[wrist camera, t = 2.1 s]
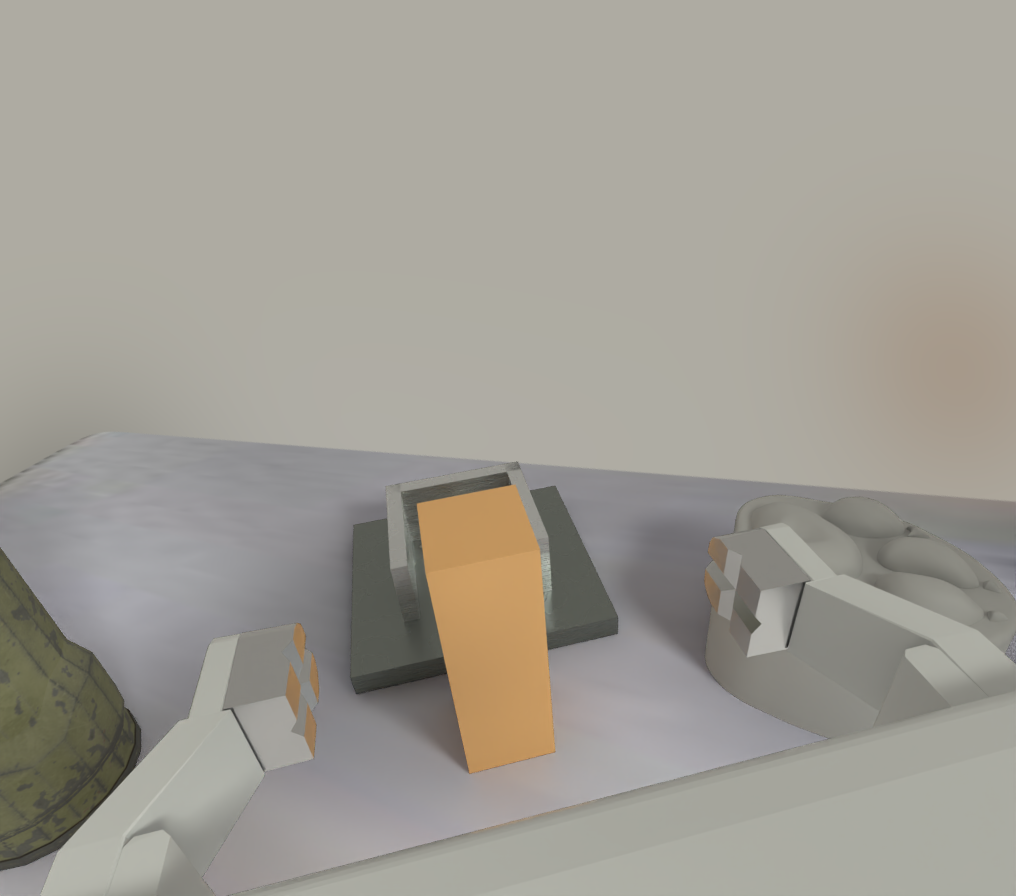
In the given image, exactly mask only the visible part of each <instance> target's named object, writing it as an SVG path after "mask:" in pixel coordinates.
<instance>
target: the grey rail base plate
mask: <svg viewBox="0 0 1016 896" xmlns="http://www.w3.org/2000/svg"><path fill="white" fill-rule="evenodd" d="M510 485H516V487H517V490H518V493H519V495H520V498H521V501H522V503H523V506H524V508H525V511H526V514H527V516H528V519H529V522H530V524H531V527H532V529H533V532H534V535H535V537H536V540H537V543H538V545H539V548H540V555H541V568H542V582H543V595H544V609H545V622H546V635H547V649H548V650H549V649H554V648H558V647H562V646H567V645H571V644H575V643H580V642H584V641H588V640H593V639H597V638H601V637H605V636H610V635H614V634H618V616H617V614H616V612H615V609H614V607H613V605H612V603H611V601H610V599H609V597H608V595H607V593H606V591H605V589H604V586H603V584H602V582H601V580H600V578H599V576H598V574H597V572H596V570H595V568H594V566H593V563H592V561H591V559H590V557H589V555H588V553H587V551H586V549H585V547H584V545H583V543H582V540H581V538H580V536H579V534H578V532H577V530H576V528H575V526H574V524H573V522H572V520H571V517H570V515H569V513H568V511H567V509H566V507H565V505H564V503H563V501H562V499H561V497H560V494H559V492H558V490H557V488H556V486H551V487H546V488H541V489H536V490H531V491H530V490H529V488H528V486H527V483H526V481H525V478H524V476H523V473H522V471H521V468H520V466H519V464H518V462H513V463H507V464H502V465H497V466H491V467H486V468H481V469H475V470H470V471H465V472H459V473H454V474H449V475H443V476H438V477H433V478H427V479H422V480H417V481H411V482H406V483H401V484H395V485H390V486H386V501H387V519H382V520H377V521H371V522H366V523H361V524H356V525H354V532H353V580H352V627H351V674H350V678H351V681H352V684H353V686H354V689H355V692H356V694H359V693H363V692H367V691H372V690H376V689H380V688H385V687H389V686H393V685H398V684H402V683H406V682H411V681H415V680H419V679H424V678H428V677H432V676H437V675H441V674H445V673H447V669H446V664H445V660H444V655H443V651H442V646H441V642H440V637H439V632H438V628H437V623H436V619H435V614H434V610H433V605H432V601H431V596H430V591H429V587H428V582H427V578H426V573H425V565H424V558H423V550H422V542H421V534H420V526H419V518H418V511H417V503H422V502H427V501H432V500H437V499H442V498H448V497H453V496H458V495H463V494H468V493H473V492H479V491H484V490H489V489H494V488H499V487H504V486H510Z"/></svg>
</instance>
